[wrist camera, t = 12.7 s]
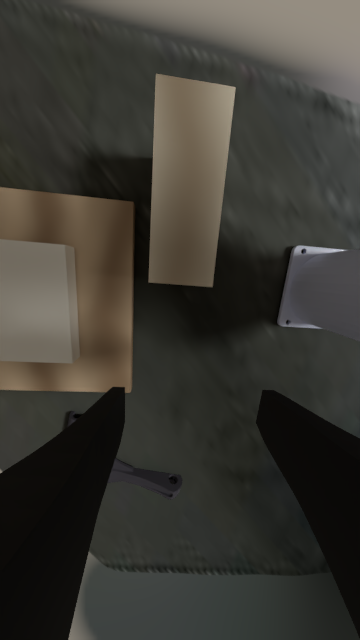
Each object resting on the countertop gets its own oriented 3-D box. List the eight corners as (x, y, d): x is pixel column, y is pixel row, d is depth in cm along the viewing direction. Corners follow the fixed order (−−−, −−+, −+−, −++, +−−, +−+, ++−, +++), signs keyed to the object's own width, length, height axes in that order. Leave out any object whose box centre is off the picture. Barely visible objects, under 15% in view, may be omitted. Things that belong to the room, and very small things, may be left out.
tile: (64, 244, 14) (-20, 237, 14) (72, 363, 17) (0, 361, 16) (74, 247, 16) (-1, 241, 16) (80, 355, 18) (15, 353, 18)
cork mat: (135, 206, 16) (133, 201, 16) (131, 387, 21) (130, 392, 20) (-67, 184, 15) (-83, 178, 14) (-26, 383, 19) (-37, 388, 18)
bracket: (165, 512, 27) (165, 539, 24) (55, 499, 25) (42, 526, 22) (195, 429, 24) (199, 449, 21) (74, 406, 22) (61, 425, 19)
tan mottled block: (206, 165, 16) (235, 87, 9) (195, 282, 19) (212, 287, 12) (160, 159, 16) (155, 73, 9) (155, 279, 18) (148, 282, 11)
